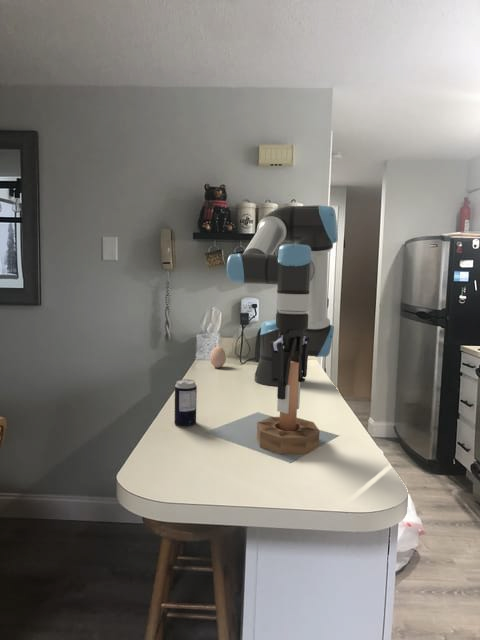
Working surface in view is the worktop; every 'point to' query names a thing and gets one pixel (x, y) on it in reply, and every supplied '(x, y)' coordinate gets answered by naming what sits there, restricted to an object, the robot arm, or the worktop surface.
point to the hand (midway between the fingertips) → (288, 409)
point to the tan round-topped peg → (291, 400)
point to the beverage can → (185, 403)
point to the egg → (218, 357)
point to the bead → (287, 437)
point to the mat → (246, 435)
